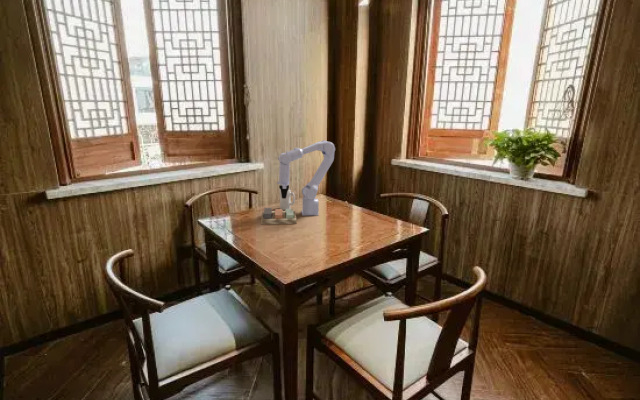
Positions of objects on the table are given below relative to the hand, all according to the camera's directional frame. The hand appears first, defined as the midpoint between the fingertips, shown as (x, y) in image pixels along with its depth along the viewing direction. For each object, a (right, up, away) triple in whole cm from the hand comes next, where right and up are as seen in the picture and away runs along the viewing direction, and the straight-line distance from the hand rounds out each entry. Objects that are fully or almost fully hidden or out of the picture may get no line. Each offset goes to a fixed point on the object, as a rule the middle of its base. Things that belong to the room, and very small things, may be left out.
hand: (283, 198), depth 198 cm
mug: (+1, -7, +16) cm, 17 cm away
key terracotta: (-2, -12, -4) cm, 13 cm away
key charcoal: (-8, -11, -5) cm, 15 cm away
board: (-2, -12, -4) cm, 13 cm away
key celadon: (+3, -12, -3) cm, 13 cm away
